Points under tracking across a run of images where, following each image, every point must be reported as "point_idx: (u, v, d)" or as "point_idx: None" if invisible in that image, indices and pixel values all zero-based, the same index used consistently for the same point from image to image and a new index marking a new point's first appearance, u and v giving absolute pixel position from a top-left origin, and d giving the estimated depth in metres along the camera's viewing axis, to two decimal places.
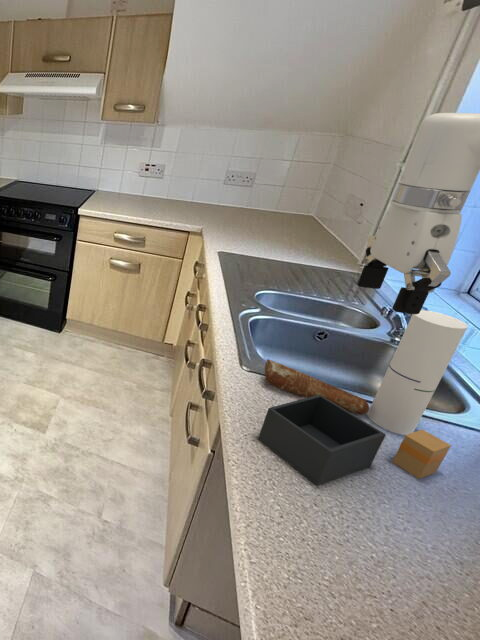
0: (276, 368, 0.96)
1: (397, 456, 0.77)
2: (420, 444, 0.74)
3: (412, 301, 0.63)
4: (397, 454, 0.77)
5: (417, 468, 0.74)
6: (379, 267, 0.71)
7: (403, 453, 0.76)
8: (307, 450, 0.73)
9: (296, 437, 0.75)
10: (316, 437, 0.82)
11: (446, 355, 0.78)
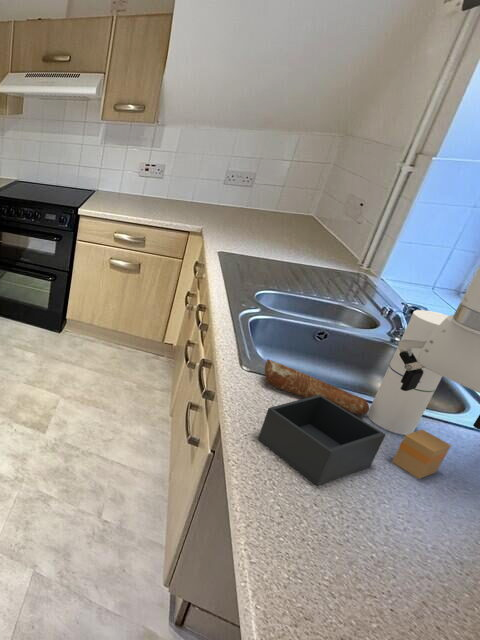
0: (276, 368, 0.96)
1: (397, 456, 0.77)
2: (420, 444, 0.74)
3: None
4: (397, 454, 0.77)
5: (417, 468, 0.74)
6: (419, 372, 0.75)
7: (403, 453, 0.76)
8: (307, 450, 0.73)
9: (296, 437, 0.75)
10: (316, 437, 0.82)
11: None
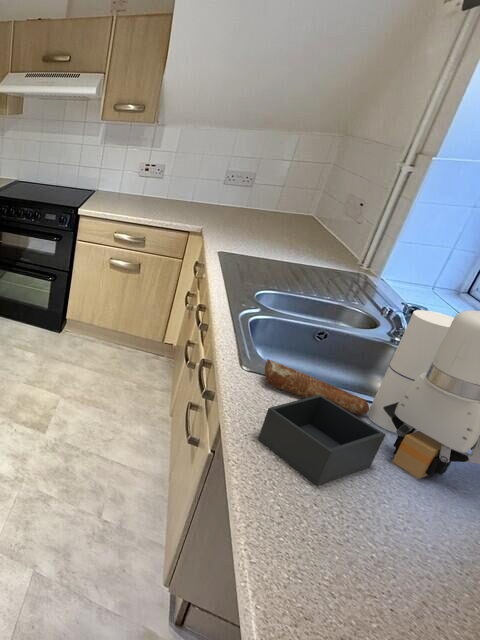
0: (276, 368, 0.96)
1: (397, 456, 0.77)
2: (420, 444, 0.74)
3: (444, 468, 0.73)
4: (397, 454, 0.77)
5: (417, 468, 0.74)
6: None
7: (403, 453, 0.76)
8: (307, 450, 0.73)
9: (296, 437, 0.75)
10: (316, 437, 0.82)
11: None
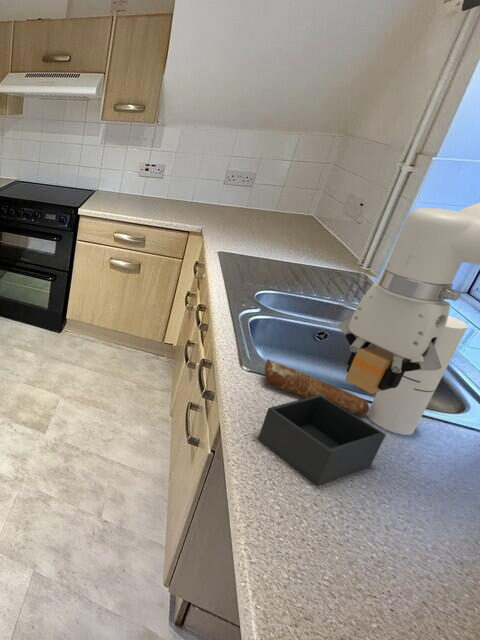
0: (276, 368, 0.96)
1: (350, 373, 0.73)
2: (372, 356, 0.70)
3: (396, 380, 0.69)
4: (350, 370, 0.73)
5: (369, 382, 0.71)
6: None
7: (356, 368, 0.72)
8: (307, 450, 0.73)
9: (296, 437, 0.75)
10: (316, 437, 0.82)
11: (446, 355, 0.78)
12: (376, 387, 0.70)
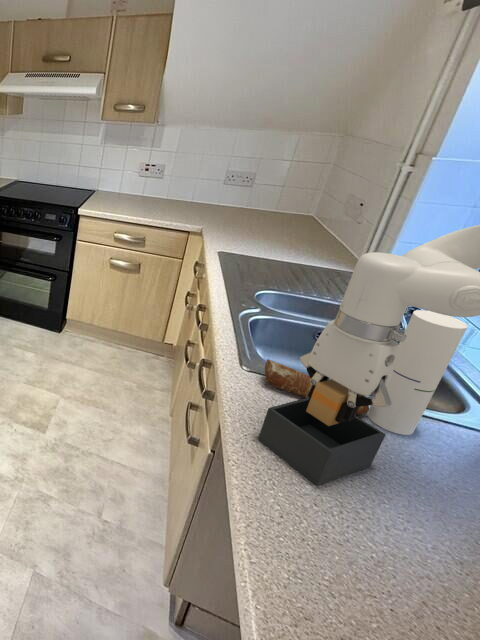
0: (276, 368, 0.96)
1: (310, 405, 0.77)
2: (329, 391, 0.73)
3: (352, 414, 0.72)
4: (310, 403, 0.77)
5: (327, 415, 0.74)
6: None
7: (315, 401, 0.76)
8: (307, 450, 0.73)
9: (296, 437, 0.75)
10: (316, 437, 0.82)
11: (446, 355, 0.78)
12: (333, 420, 0.74)
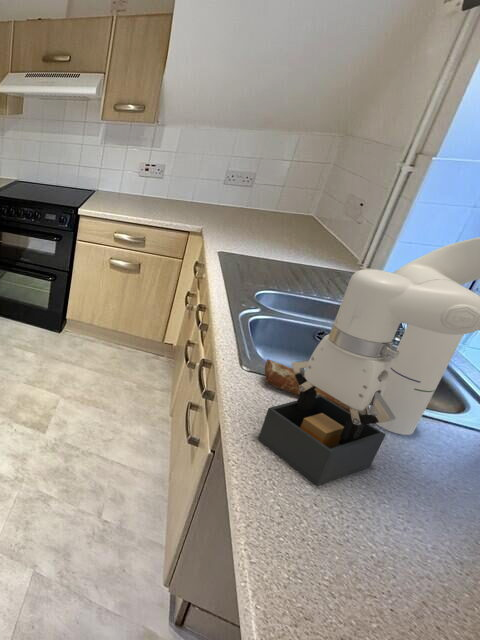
0: (276, 368, 0.96)
1: None
2: (315, 426, 0.76)
3: (357, 431, 0.72)
4: None
5: None
6: (312, 392, 0.79)
7: None
8: (307, 450, 0.73)
9: (296, 437, 0.75)
10: None
11: (446, 355, 0.78)
12: None
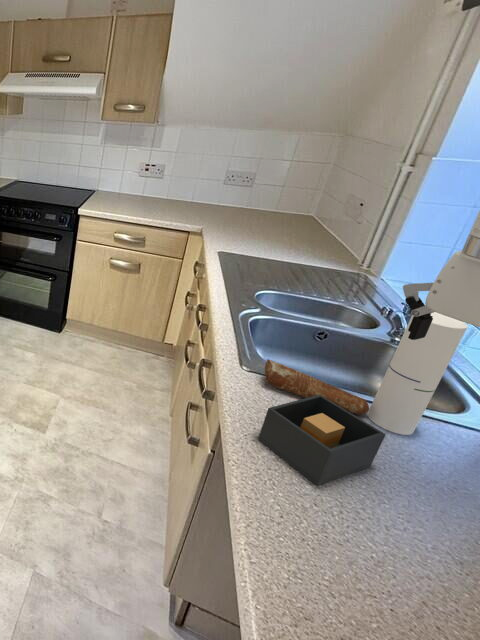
0: (276, 368, 0.96)
1: None
2: (315, 426, 0.76)
3: None
4: None
5: None
6: (428, 317, 0.68)
7: None
8: (307, 450, 0.73)
9: (296, 437, 0.75)
10: None
11: (446, 355, 0.78)
12: None
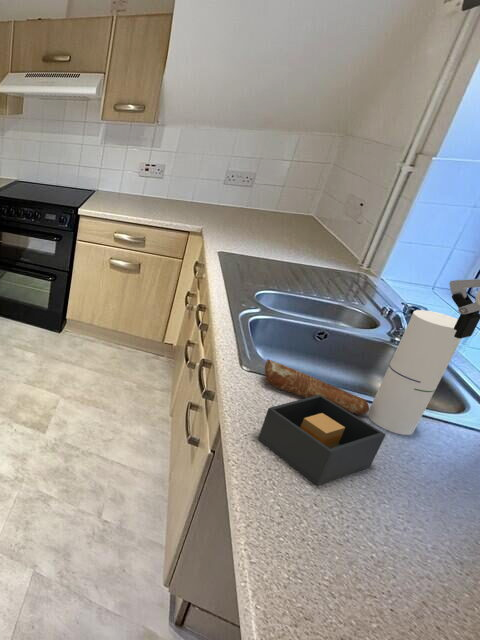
0: (276, 368, 0.96)
1: None
2: (315, 426, 0.76)
3: None
4: None
5: None
6: (476, 315, 0.65)
7: None
8: (307, 450, 0.73)
9: (296, 437, 0.75)
10: None
11: (446, 355, 0.78)
12: None
